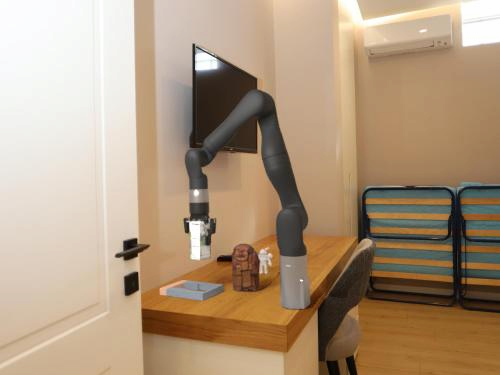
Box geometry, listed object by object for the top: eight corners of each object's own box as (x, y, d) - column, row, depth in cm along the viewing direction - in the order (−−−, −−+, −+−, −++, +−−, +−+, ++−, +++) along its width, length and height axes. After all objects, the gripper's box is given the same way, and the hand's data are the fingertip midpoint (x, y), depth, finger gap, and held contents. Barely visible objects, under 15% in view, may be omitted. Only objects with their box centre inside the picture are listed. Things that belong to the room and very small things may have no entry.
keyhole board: (223, 290, 154) (223, 284, 154) (202, 300, 141) (202, 293, 141) (182, 285, 163) (182, 279, 163) (159, 294, 151) (159, 288, 151)
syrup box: (200, 256, 154) (199, 219, 154) (211, 258, 150) (210, 220, 150) (189, 259, 149) (188, 221, 149) (200, 260, 146) (199, 221, 146)
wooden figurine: (228, 291, 153) (227, 244, 153) (233, 286, 159) (232, 242, 159) (257, 292, 150) (256, 245, 150) (262, 288, 156) (260, 242, 156)
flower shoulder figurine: (273, 272, 183) (273, 246, 183) (272, 274, 179) (271, 248, 179) (255, 271, 185) (254, 246, 185) (252, 273, 181) (252, 247, 181)
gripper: (220, 200, 150) (221, 244, 150) (189, 200, 156) (191, 242, 157) (209, 201, 143) (210, 247, 143) (177, 201, 150) (179, 245, 150)
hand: (200, 244), depth 150 cm, fingers closed on syrup box, 6 cm apart
